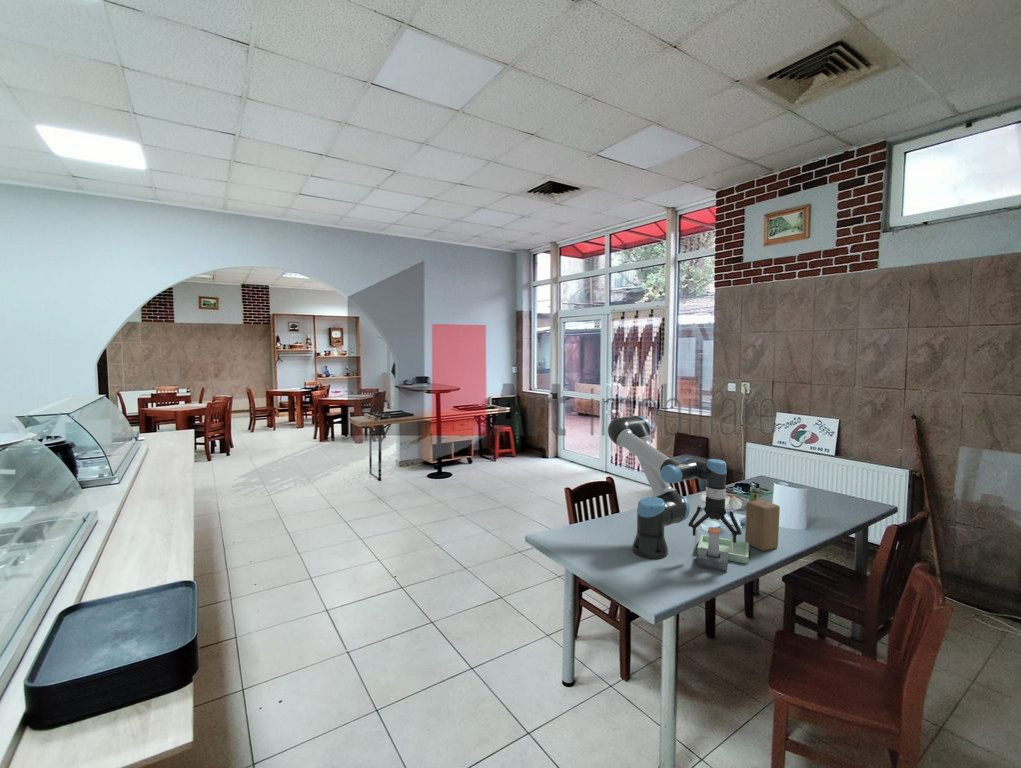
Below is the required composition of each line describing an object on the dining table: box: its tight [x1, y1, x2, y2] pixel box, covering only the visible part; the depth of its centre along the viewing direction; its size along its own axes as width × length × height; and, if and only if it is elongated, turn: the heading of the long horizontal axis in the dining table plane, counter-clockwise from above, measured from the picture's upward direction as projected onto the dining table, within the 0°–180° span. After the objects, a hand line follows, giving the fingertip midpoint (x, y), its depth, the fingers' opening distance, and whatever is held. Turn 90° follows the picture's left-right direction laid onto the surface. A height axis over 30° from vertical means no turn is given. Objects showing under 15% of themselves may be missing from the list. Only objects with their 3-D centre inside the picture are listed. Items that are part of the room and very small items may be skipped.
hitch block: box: [697, 547, 729, 573], centre depth 197 cm, size 11×11×4 cm
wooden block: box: [744, 499, 781, 552], centre depth 214 cm, size 10×10×20 cm
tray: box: [696, 534, 750, 565], centre depth 208 cm, size 20×16×3 cm
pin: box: [707, 526, 722, 559], centre depth 196 cm, size 5×5×15 cm
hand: (713, 546), depth 196 cm, fingers open, 13 cm apart
